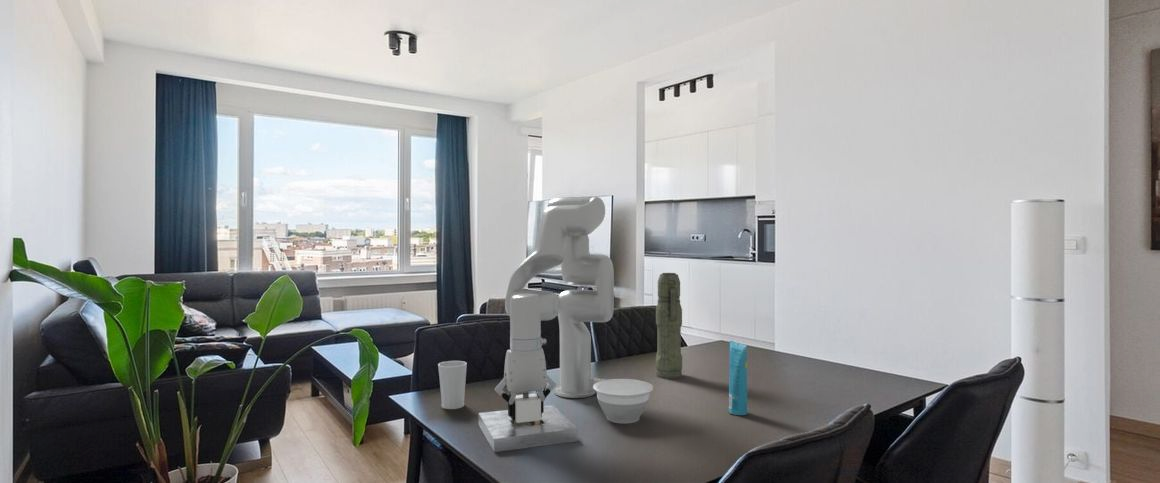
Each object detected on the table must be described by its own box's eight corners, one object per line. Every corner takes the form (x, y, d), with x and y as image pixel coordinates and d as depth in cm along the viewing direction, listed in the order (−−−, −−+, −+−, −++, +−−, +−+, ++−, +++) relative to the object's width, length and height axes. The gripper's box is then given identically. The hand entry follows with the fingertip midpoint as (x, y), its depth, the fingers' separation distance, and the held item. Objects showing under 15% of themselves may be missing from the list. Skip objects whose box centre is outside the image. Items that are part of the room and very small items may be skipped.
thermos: (663, 380, 195) (663, 274, 194) (650, 372, 206) (650, 272, 206) (688, 379, 197) (688, 274, 196) (674, 370, 209) (673, 271, 208)
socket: (553, 416, 159) (552, 402, 158) (577, 441, 140) (577, 425, 140) (478, 424, 152) (478, 410, 152) (494, 452, 133) (493, 435, 133)
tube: (754, 415, 158) (754, 344, 158) (740, 418, 156) (740, 345, 156) (735, 408, 165) (735, 339, 164) (721, 410, 163) (721, 341, 162)
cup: (460, 410, 164) (460, 367, 163) (433, 409, 165) (433, 366, 165) (471, 402, 171) (471, 361, 171) (445, 401, 173) (445, 360, 173)
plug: (534, 418, 150) (534, 388, 149) (540, 426, 144) (540, 394, 144) (511, 421, 147) (511, 390, 147) (516, 429, 142) (516, 397, 142)
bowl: (583, 413, 161) (583, 382, 161) (635, 406, 167) (635, 376, 167) (609, 431, 146) (609, 397, 146) (664, 423, 153) (664, 390, 152)
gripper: (554, 339, 152) (554, 409, 152) (487, 344, 146) (488, 416, 146) (563, 345, 145) (563, 418, 145) (493, 350, 139) (494, 426, 139)
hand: (525, 416), depth 146 cm, fingers closed on plug, 5 cm apart
